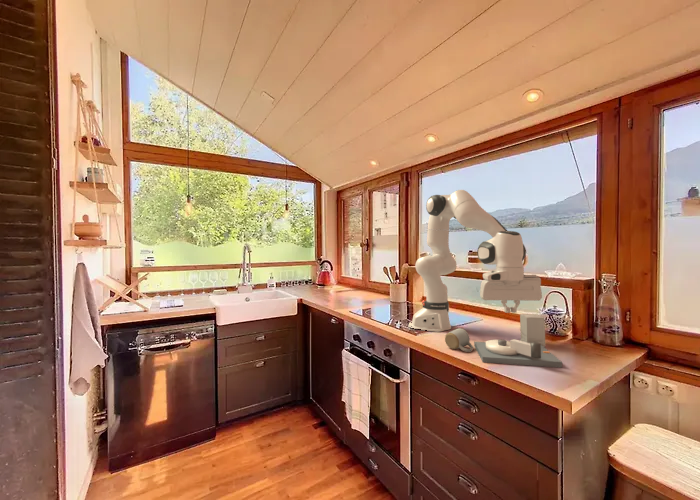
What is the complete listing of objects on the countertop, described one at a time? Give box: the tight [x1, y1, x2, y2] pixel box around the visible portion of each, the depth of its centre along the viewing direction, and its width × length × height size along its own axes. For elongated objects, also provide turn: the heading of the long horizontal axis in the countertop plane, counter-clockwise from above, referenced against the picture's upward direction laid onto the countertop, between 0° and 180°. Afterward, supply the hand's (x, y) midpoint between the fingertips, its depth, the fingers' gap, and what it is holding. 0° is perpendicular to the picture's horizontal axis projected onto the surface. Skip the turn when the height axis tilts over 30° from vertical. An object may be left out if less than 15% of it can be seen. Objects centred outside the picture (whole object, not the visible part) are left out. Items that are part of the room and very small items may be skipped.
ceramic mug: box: [444, 328, 474, 353], centre depth 123 cm, size 11×8×8 cm
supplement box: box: [519, 313, 546, 348], centre depth 126 cm, size 7×7×13 cm
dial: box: [485, 338, 541, 359], centre depth 111 cm, size 20×12×6 cm, turn 31°
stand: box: [473, 341, 563, 368], centre depth 114 cm, size 26×18×2 cm
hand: (510, 312), depth 106 cm, fingers closed
